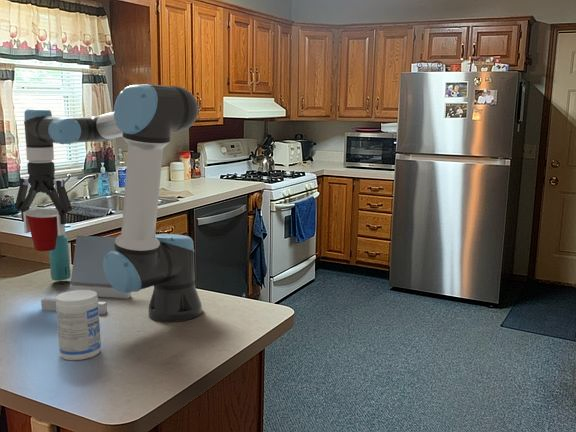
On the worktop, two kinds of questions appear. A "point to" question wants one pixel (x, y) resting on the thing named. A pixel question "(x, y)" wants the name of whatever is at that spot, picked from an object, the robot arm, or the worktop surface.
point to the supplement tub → (78, 324)
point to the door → (91, 260)
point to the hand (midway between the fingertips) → (44, 233)
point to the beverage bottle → (60, 259)
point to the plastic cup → (43, 228)
